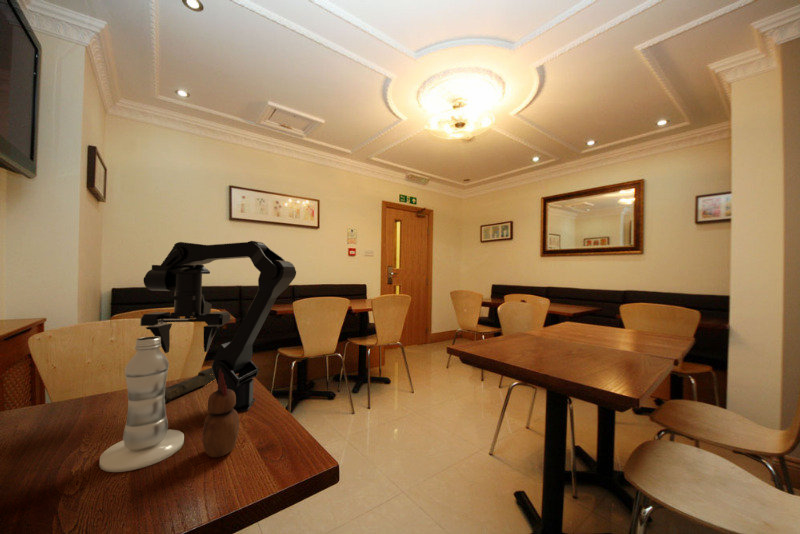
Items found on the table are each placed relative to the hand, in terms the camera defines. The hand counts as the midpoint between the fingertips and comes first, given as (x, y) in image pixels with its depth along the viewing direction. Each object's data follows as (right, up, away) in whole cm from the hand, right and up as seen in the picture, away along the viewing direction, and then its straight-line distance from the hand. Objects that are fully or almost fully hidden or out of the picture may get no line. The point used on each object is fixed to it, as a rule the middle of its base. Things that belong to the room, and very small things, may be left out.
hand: (186, 352), depth 78 cm
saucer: (+7, -13, -21) cm, 26 cm away
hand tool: (-5, -14, +8) cm, 16 cm away
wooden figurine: (+21, -13, -21) cm, 33 cm away
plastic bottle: (+7, -12, -21) cm, 25 cm away
